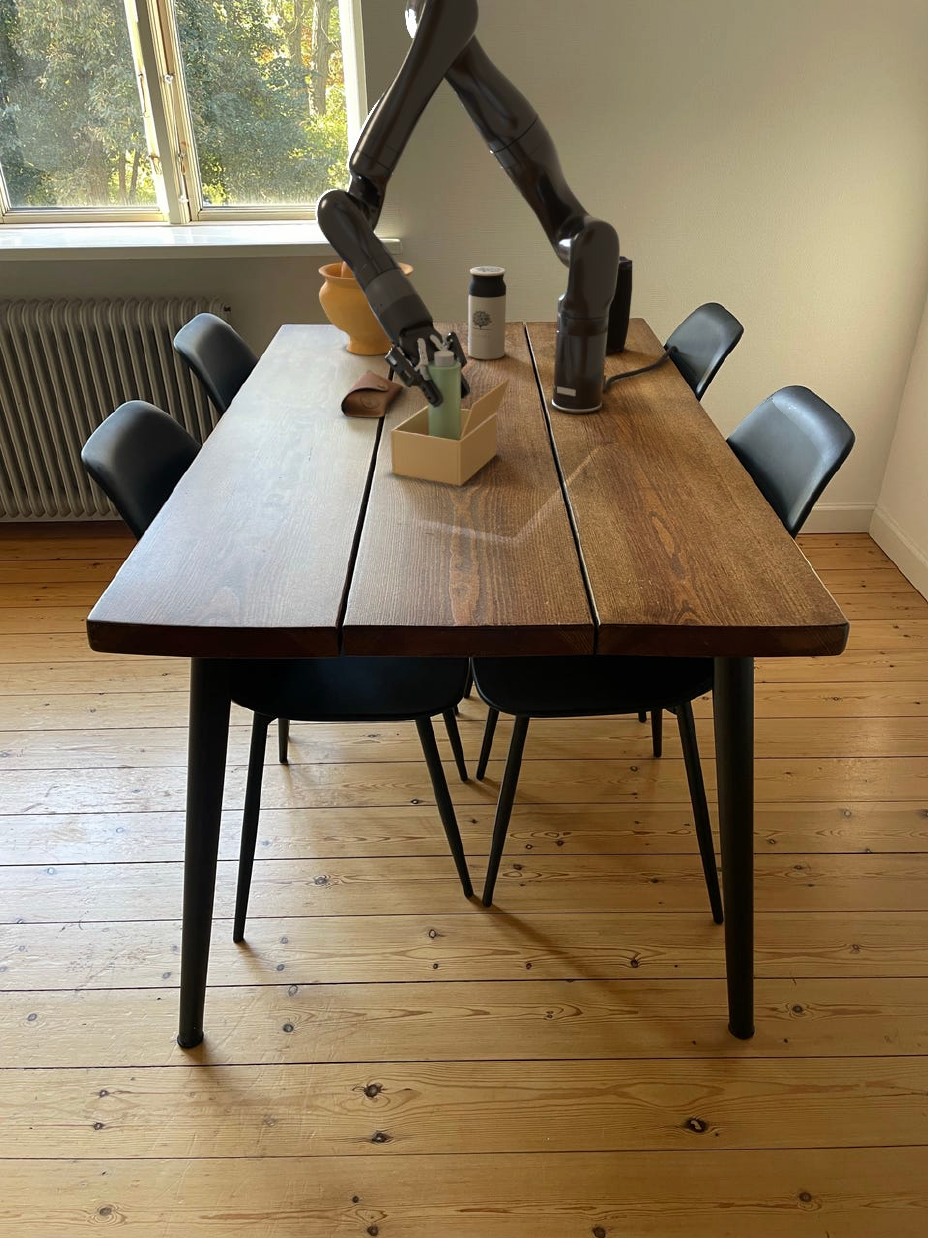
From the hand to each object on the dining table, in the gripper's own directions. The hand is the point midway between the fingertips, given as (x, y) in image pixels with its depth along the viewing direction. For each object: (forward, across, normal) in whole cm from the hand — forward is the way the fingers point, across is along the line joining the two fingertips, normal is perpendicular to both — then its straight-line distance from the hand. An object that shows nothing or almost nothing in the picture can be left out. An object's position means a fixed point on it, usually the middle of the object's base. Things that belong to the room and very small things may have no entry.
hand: (452, 399), depth 143 cm
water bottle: (+4, 0, +6) cm, 7 cm away
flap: (+4, +2, -3) cm, 5 cm away
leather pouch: (-16, +12, +32) cm, 38 cm away
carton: (+7, 0, +9) cm, 12 cm away
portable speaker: (-8, +72, +26) cm, 77 cm away
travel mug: (-20, +51, +37) cm, 66 cm away
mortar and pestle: (-36, +36, +53) cm, 73 cm away
